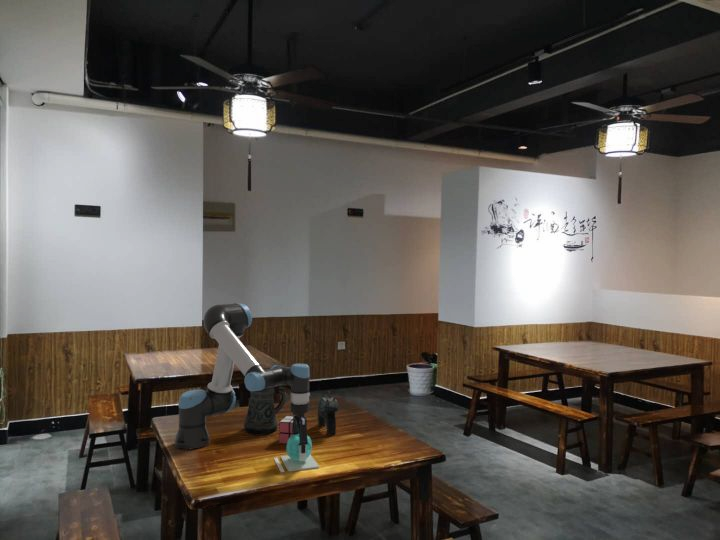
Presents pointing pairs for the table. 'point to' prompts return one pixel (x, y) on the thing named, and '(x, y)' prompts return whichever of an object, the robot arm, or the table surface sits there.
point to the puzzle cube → (285, 429)
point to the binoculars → (327, 413)
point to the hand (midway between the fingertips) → (299, 455)
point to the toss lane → (296, 463)
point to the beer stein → (263, 411)
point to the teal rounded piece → (297, 447)
